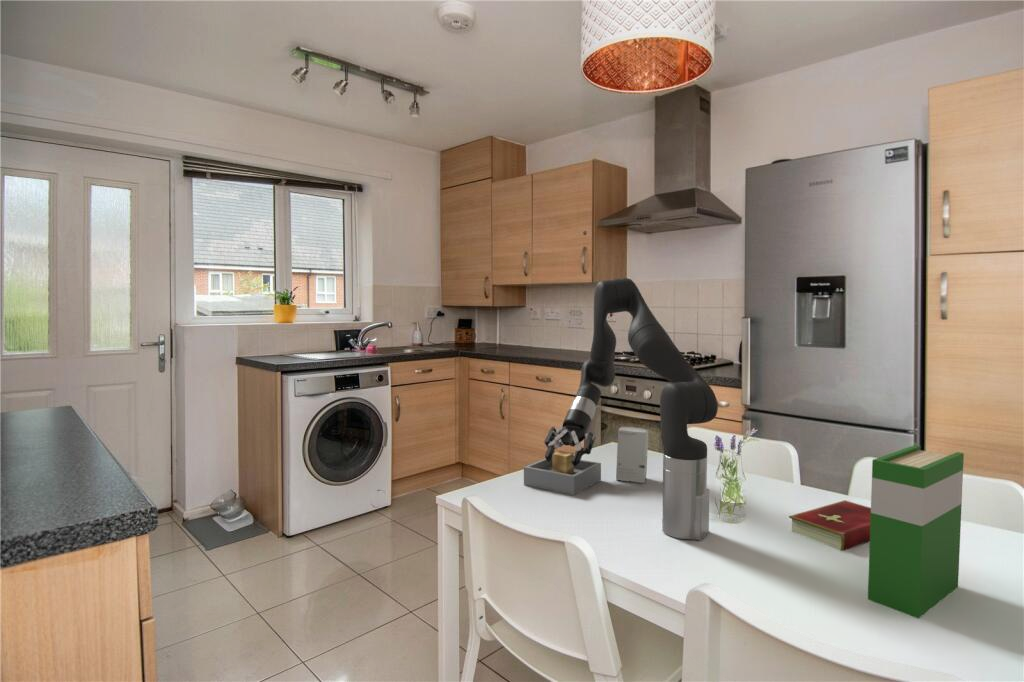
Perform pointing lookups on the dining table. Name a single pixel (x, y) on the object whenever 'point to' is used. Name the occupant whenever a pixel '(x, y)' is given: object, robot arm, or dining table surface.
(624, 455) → the skincare box
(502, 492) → the dining table surface
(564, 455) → the block
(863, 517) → the hardcover book
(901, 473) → the hardback book
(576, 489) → the walled box
